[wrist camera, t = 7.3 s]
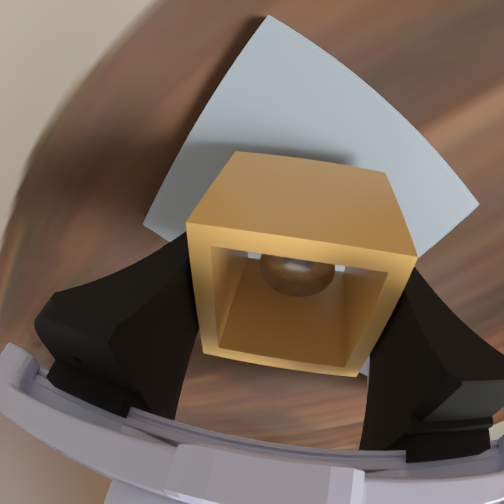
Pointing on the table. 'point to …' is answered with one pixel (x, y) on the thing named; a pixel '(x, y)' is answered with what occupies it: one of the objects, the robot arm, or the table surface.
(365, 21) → the table surface
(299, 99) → the board
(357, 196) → the collar
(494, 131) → the table surface
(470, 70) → the table surface
